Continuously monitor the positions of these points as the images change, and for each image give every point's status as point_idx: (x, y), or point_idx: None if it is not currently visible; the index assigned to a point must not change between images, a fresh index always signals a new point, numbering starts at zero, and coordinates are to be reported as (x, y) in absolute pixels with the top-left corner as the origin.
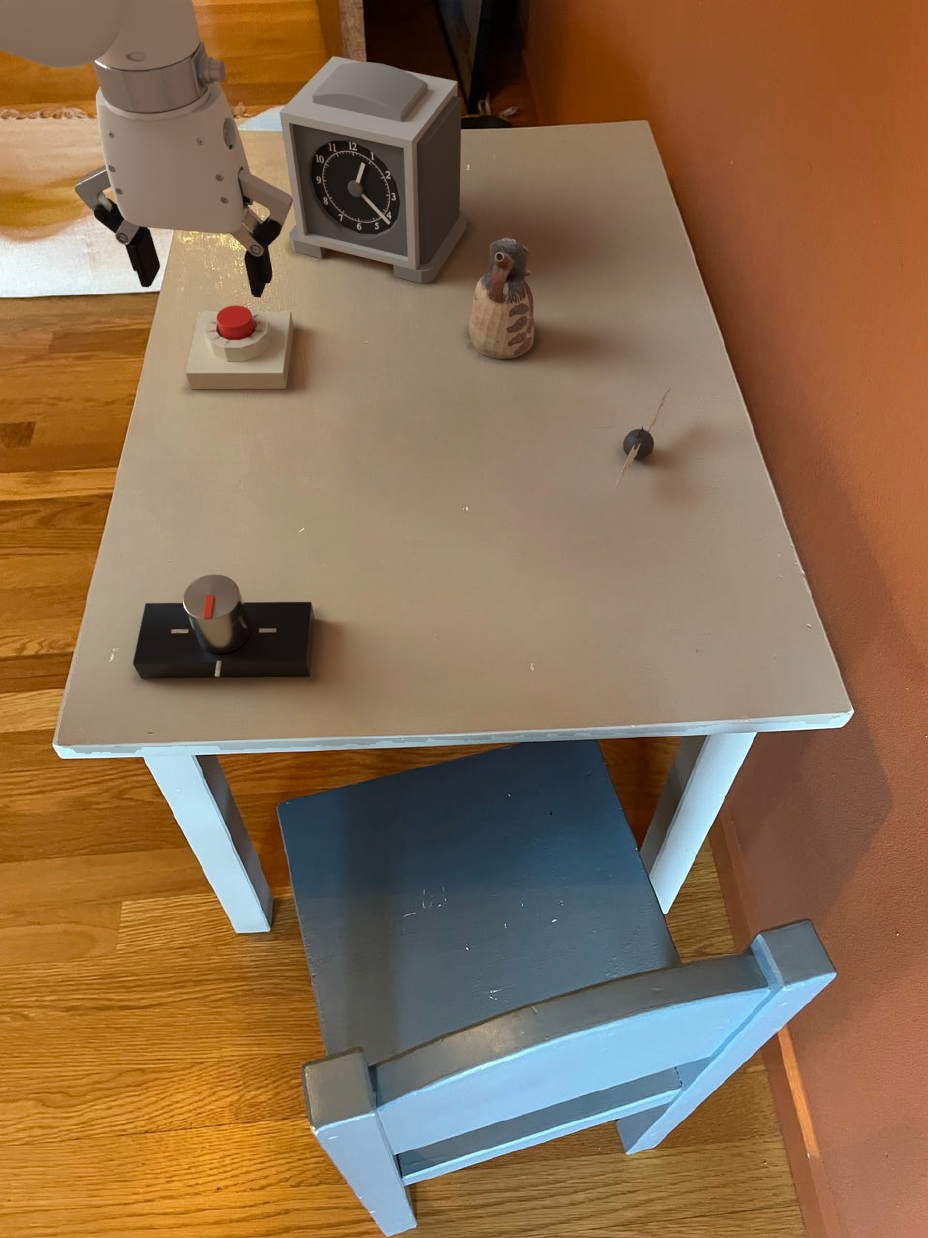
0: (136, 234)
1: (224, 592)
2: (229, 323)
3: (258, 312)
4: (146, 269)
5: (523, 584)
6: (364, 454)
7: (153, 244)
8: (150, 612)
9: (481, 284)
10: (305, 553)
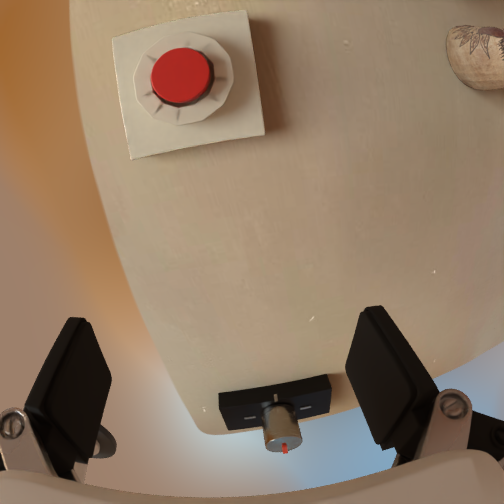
0: (71, 466)
1: (292, 441)
2: (177, 93)
3: (208, 39)
4: (101, 403)
5: (447, 319)
6: (363, 226)
7: (68, 370)
8: (225, 411)
9: (502, 52)
10: (316, 336)
